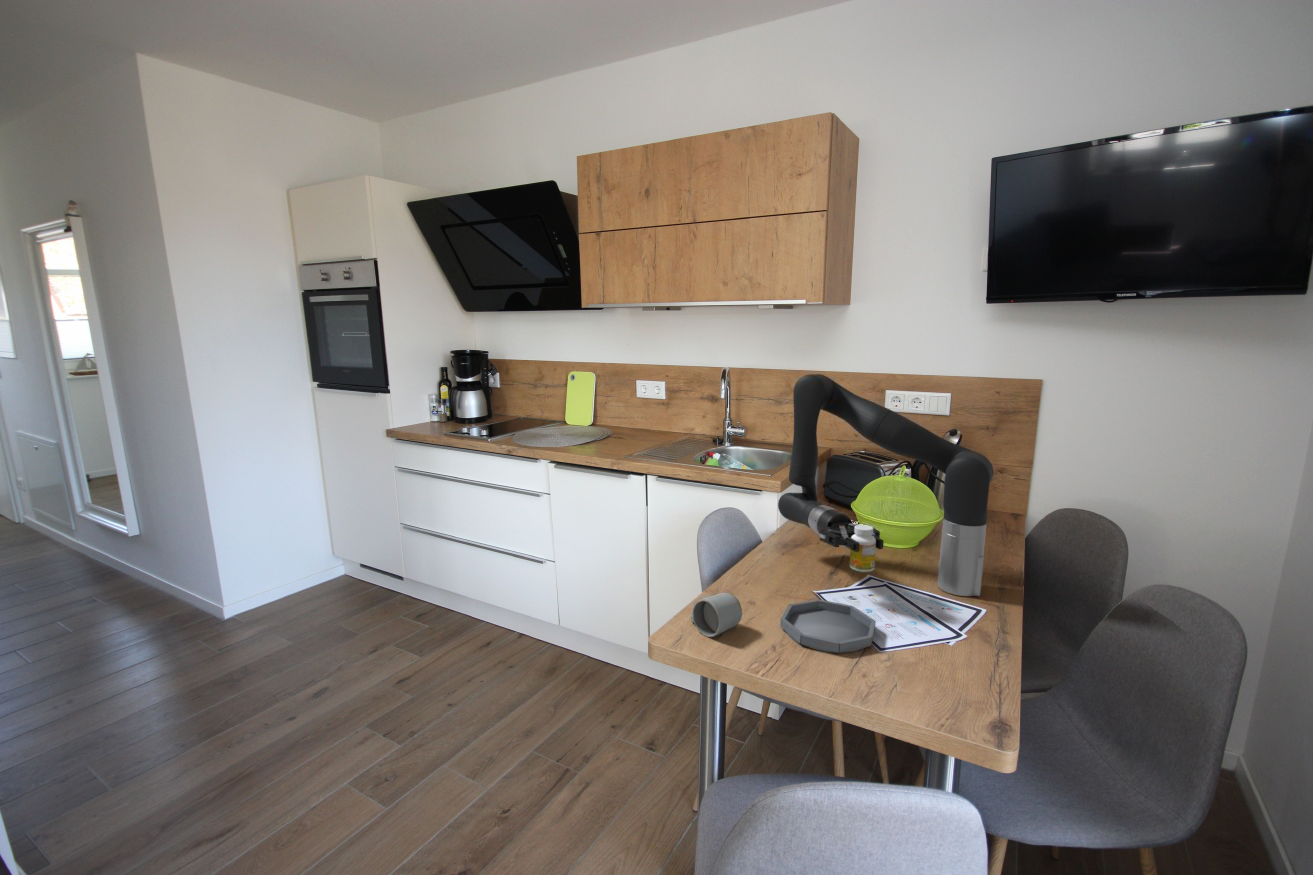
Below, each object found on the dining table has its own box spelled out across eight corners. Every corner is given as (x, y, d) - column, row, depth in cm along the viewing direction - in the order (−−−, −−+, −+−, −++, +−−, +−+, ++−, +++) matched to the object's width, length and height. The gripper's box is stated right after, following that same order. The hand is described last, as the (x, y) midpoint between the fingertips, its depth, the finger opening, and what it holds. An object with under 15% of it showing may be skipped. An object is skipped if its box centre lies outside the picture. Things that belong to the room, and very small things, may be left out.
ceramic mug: (744, 629, 126) (745, 594, 125) (719, 642, 120) (719, 606, 119) (706, 613, 134) (706, 580, 132) (680, 625, 128) (680, 590, 127)
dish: (877, 620, 130) (878, 610, 130) (868, 661, 114) (868, 649, 114) (793, 604, 137) (794, 594, 137) (773, 640, 121) (774, 629, 121)
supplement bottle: (845, 563, 140) (847, 523, 138) (868, 562, 140) (870, 522, 139) (855, 573, 135) (857, 531, 133) (878, 572, 135) (880, 530, 133)
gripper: (803, 511, 148) (841, 533, 132) (855, 506, 151) (899, 527, 135) (802, 540, 149) (840, 565, 133) (854, 535, 153) (897, 559, 136)
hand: (869, 546), depth 134 cm, fingers closed on supplement bottle, 5 cm apart
